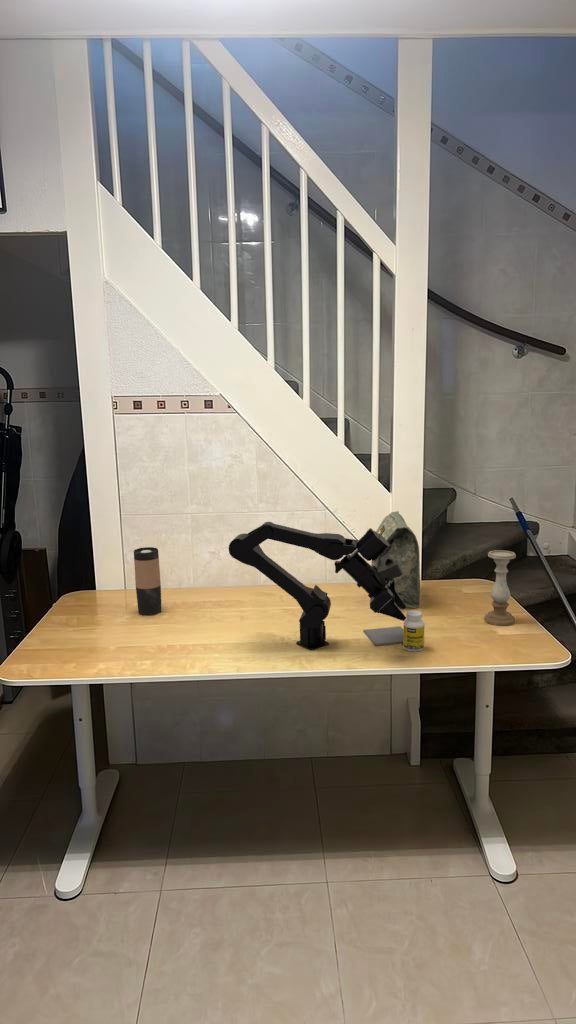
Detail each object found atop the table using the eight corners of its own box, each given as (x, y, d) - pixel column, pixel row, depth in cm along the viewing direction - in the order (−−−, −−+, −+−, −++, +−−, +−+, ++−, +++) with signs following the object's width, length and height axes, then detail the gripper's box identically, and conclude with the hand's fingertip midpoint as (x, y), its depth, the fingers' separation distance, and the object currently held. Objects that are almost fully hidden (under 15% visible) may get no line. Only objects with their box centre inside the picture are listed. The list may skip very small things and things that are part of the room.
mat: (375, 646, 184) (375, 643, 184) (363, 631, 195) (363, 629, 195) (414, 642, 186) (414, 640, 186) (400, 628, 197) (400, 626, 197)
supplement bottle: (404, 652, 180) (404, 616, 178) (402, 644, 185) (402, 609, 183) (425, 652, 179) (426, 616, 178) (422, 644, 185) (422, 609, 183)
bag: (366, 588, 235) (365, 509, 230) (413, 588, 234) (414, 509, 229) (371, 610, 213) (371, 523, 208) (424, 610, 212) (425, 522, 207)
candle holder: (518, 626, 196) (521, 557, 192) (487, 626, 197) (489, 557, 193) (511, 615, 205) (513, 549, 201) (481, 615, 205) (482, 549, 202)
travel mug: (165, 608, 220) (161, 547, 216) (158, 616, 213) (154, 553, 209) (141, 607, 221) (137, 547, 217) (134, 615, 213) (129, 553, 210)
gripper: (382, 560, 170) (428, 604, 170) (384, 543, 188) (426, 582, 188) (351, 590, 172) (396, 634, 173) (356, 570, 190) (396, 609, 191)
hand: (404, 613), depth 181 cm, fingers open, 9 cm apart
